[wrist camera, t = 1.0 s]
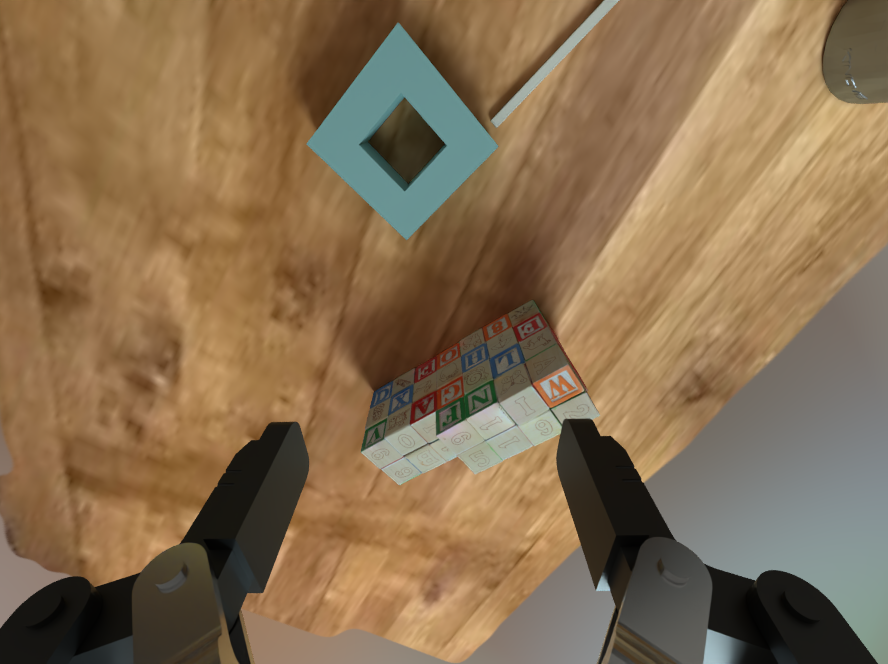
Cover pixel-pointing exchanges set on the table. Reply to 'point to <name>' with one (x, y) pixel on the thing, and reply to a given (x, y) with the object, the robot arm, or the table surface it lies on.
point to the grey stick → (553, 60)
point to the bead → (367, 108)
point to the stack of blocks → (477, 400)
